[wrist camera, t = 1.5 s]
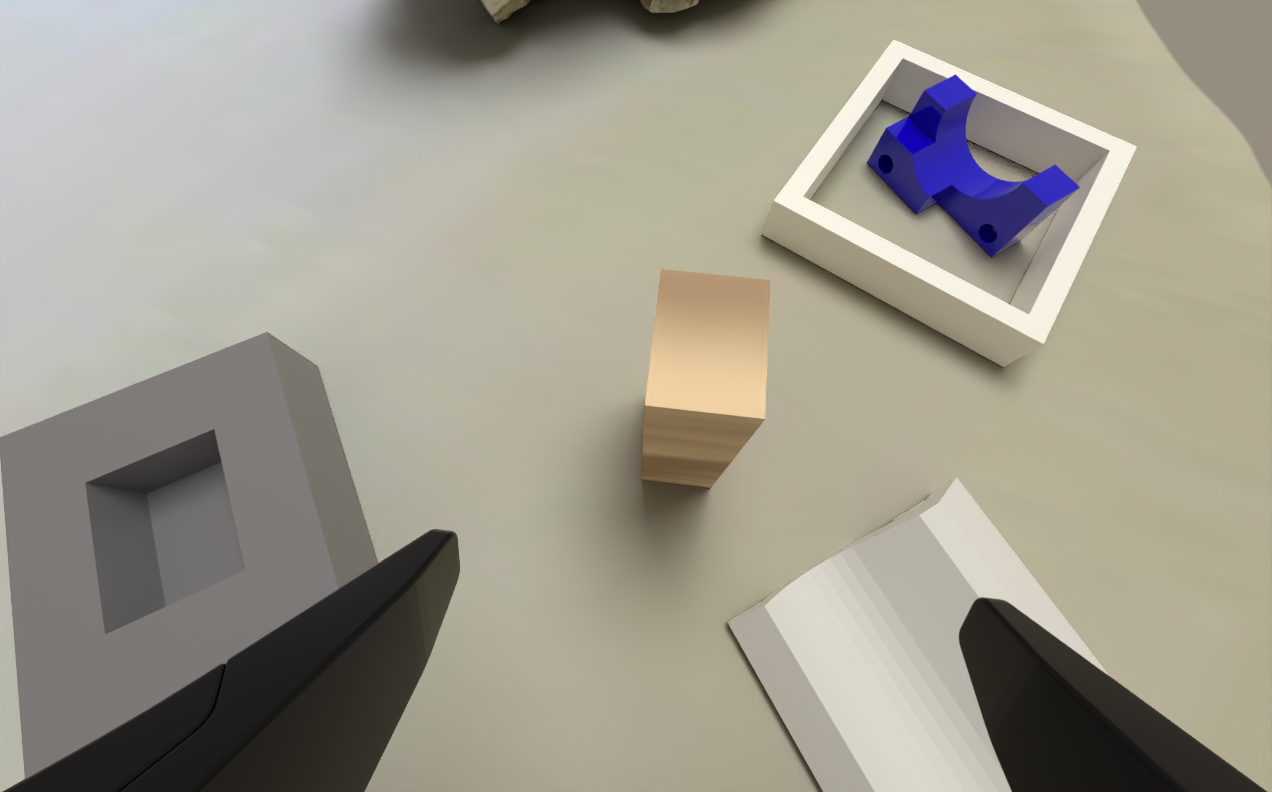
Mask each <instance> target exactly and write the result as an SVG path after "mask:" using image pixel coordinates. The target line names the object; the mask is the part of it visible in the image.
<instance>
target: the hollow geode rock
mask: <svg viewBox="0 0 1272 792" xmlns="http://www.w3.org/2000/svg"><path fill="white" fill-rule="evenodd" d="M478 1H479V2H480V4H481V5H482V7H483V8H484V10H485V11H486V12H487V14H488V15H489V16H490V17H491V19H492V20H493V21H494V22H496V23H498V24H499V23H500V22H501V21H502V20H503V19H507V18H508V17H509V16H510V15H511V14H512V13H513V12H514V11H516V10H518V9H520V8H522V7H525V6H526V5H527V4H528V3H529V2H530V1H531V0H478ZM698 1H699V0H640V2H641V4H642V5H643V7H644V8H646V9H647V10H649V11H650V12H652V13H673V12H677V11H680V10H683V9H687V8H689V7H692V6H694V5H696V4H698Z"/></svg>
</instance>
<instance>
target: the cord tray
mask: <svg viewBox="0 0 1272 792" xmlns="http://www.w3.org/2000/svg"><path fill="white" fill-rule="evenodd" d="M955 74H956V75H957V76H958V77H959V78H960V79H961V80H962V81H963V82H964V83H966V84H967V85H968V86H969V87H970V88H971V89H972V90H973V91H974V92H976V93H977V95H976V97H975V98H974V100H973V102H972V104H971V106H970V109H969V112H968V115H967V120H966V139H967V140H969V141H971V142H973V143H976V144H978V145H980V146H982V147H984V148H986V149H988V150H991V151H993V152H995V153H997V154H999V155H1001V156H1003V157H1006V158H1008V159H1010V160H1012V161H1014V162H1016V163H1018V164H1021V165H1023V166H1025V167H1027V168H1029V169H1031V170H1033V171H1036V172H1038V173H1041V172H1043V171H1045V170H1046V169H1048V168H1050V167H1052V166H1053V165H1056V166H1057V167H1058V168H1059V169H1061V170H1062V171H1063V172H1064V173H1065V174H1066V175H1067V176H1068V177H1069V178H1071V179H1072V180H1073V181H1074V182H1075V183H1076V184H1077V185H1078V186H1079V187H1080V188H1079V189H1078V190H1077V191H1076V192H1075V193H1074V194H1073V195H1071V196H1070V197H1069V198H1068V199H1067V200H1066V201H1065V202H1064V203H1062V204H1061V205H1060V207H1059V209H1058V211H1057V213H1056V215H1055V217H1054V219H1053V221H1052V223H1051V225H1050V227H1049V229H1048V231H1047V233H1046V235H1045V237H1044V238H1043V240H1042V242H1041V244H1040V246H1039V248H1038V250H1037V252H1036V254H1035V256H1034V258H1033V260H1032V262H1031V264H1030V266H1029V268H1028V270H1027V272H1026V274H1025V276H1024V278H1023V279H1022V281H1021V283H1020V285H1019V287H1018V289H1017V291H1016V293H1015V295H1014V297H1013V299H1012V301H1011V303H1010V305H1009V304H1008V303H1006V302H1004V301H1002V300H1000V299H998V298H996V297H994V296H992V295H990V294H988V293H987V292H985V291H983V290H981V289H979V288H977V287H975V286H973V285H971V284H969V283H967V282H966V281H964V280H962V279H960V278H958V277H956V276H954V275H952V274H950V273H948V272H946V271H944V270H943V269H941V268H939V267H937V266H935V265H933V264H931V263H929V262H927V261H925V260H923V259H922V258H920V257H918V256H916V255H914V254H912V253H910V252H908V251H906V250H904V249H902V248H901V247H899V246H897V245H895V244H893V243H891V242H889V241H887V240H885V239H883V238H881V237H880V236H878V235H876V234H874V233H872V232H870V231H868V230H866V229H864V228H862V227H860V226H859V225H857V224H855V223H853V222H851V221H849V220H847V219H845V218H843V217H841V216H839V215H838V214H836V213H834V212H832V211H830V210H828V209H826V208H824V207H822V206H820V205H818V204H817V203H815V202H813V201H811V200H810V199H811V198H812V196H813V195H814V194H815V192H816V191H817V189H818V188H819V187H820V185H821V184H822V182H823V181H824V180H825V178H826V177H827V175H828V174H829V173H830V171H831V170H832V168H833V167H834V166H835V164H836V163H837V161H838V160H839V159H840V157H841V156H842V154H843V153H844V152H845V150H846V149H847V147H848V146H849V145H850V143H851V142H852V140H853V139H854V138H855V136H856V135H857V133H858V132H859V131H860V129H861V128H862V127H863V125H864V124H865V122H866V121H867V120H868V118H869V117H870V115H871V114H872V113H873V111H874V110H875V108H876V107H877V106H878V104H879V103H880V101H881V100H883V101H886V102H888V103H890V104H892V105H894V106H896V107H898V108H901V109H903V110H905V111H907V112H909V113H911V112H912V110H913V109H914V107H915V105H916V104H917V102H918V100H919V98H920V97H921V95H922V93H923V92H924V90H926V89H928V88H930V87H932V86H934V85H936V84H938V83H940V82H942V81H944V80H946V79H948V78H950V77H952V76H954V75H955ZM1135 150H1136V146H1134V145H1132V144H1130V143H1127V142H1125V141H1123V140H1120V139H1118V138H1116V137H1114V136H1111V135H1109V134H1107V133H1105V132H1102V131H1100V130H1098V129H1096V128H1093V127H1091V126H1089V125H1086V124H1084V123H1082V122H1080V121H1077V120H1075V119H1073V118H1071V117H1068V116H1066V115H1064V114H1061V113H1059V112H1057V111H1055V110H1052V109H1050V108H1048V107H1046V106H1043V105H1041V104H1039V103H1036V102H1034V101H1032V100H1030V99H1027V98H1025V97H1023V96H1021V95H1018V94H1016V93H1014V92H1011V91H1009V90H1007V89H1005V88H1002V87H1000V86H998V85H996V84H993V83H991V82H989V81H986V80H984V79H982V78H980V77H977V76H975V75H973V74H971V73H968V72H966V71H964V70H961V69H959V68H957V67H955V66H952V65H950V64H948V63H946V62H943V61H941V60H939V59H937V58H934V57H932V56H930V55H927V54H925V53H923V52H921V51H918V50H916V49H914V48H912V47H909V46H907V45H905V44H902V43H900V42H898V41H896V40H893V41H892V43H891V44H890V45H889V47H888V48H887V49H886V51H885V52H884V53H883V55H882V56H881V57H880V59H879V60H878V61H877V63H876V64H875V65H874V67H873V68H872V69H871V71H870V72H869V73H868V75H867V76H866V78H865V79H864V80H863V82H862V83H861V84H860V86H859V87H858V88H857V90H856V91H855V92H854V94H853V95H852V96H851V98H850V99H849V100H848V102H847V103H846V104H845V106H844V107H843V108H842V110H841V111H840V112H839V114H838V115H837V116H836V118H835V119H834V121H833V122H832V123H831V125H830V126H829V127H828V129H827V130H826V131H825V133H824V134H823V135H822V137H821V138H820V139H819V141H818V142H817V143H816V145H815V146H814V147H813V149H812V150H811V151H810V153H809V154H808V155H807V157H806V158H805V160H804V161H803V162H802V164H801V165H800V166H799V168H798V169H797V170H796V172H795V173H794V174H793V176H792V177H791V178H790V180H789V181H788V182H787V184H786V185H785V186H784V188H783V189H782V190H781V192H780V193H779V194H778V196H777V197H776V198H775V200H774V202H773V204H772V207H771V210H770V213H769V215H768V218H767V221H766V224H765V227H764V229H763V232H762V235H764V236H765V237H767V238H769V239H771V240H773V241H775V242H776V243H778V244H780V245H782V246H784V247H786V248H787V249H789V250H791V251H793V252H795V253H796V254H798V255H800V256H802V257H804V258H806V259H807V260H809V261H811V262H813V263H815V264H816V265H818V266H820V267H822V268H824V269H826V270H827V271H829V272H831V273H833V274H835V275H836V276H838V277H840V278H842V279H844V280H846V281H847V282H849V283H851V284H853V285H855V286H857V287H858V288H860V289H862V290H864V291H866V292H867V293H869V294H871V295H873V296H875V297H877V298H878V299H880V300H882V301H884V302H886V303H887V304H889V305H891V306H893V307H895V308H897V309H898V310H900V311H902V312H904V313H906V314H907V315H909V316H911V317H913V318H915V319H917V320H918V321H920V322H922V323H924V324H926V325H927V326H929V327H931V328H933V329H935V330H937V331H938V332H940V333H942V334H944V335H946V336H948V337H949V338H951V339H953V340H955V341H957V342H958V343H960V344H962V345H964V346H966V347H968V348H969V349H971V350H973V351H975V352H977V353H978V354H980V355H982V356H984V357H986V358H988V359H989V360H991V361H993V362H995V363H997V364H998V365H1000V366H1002V367H1005V366H1007V365H1009V364H1010V363H1012V362H1014V361H1015V360H1017V359H1019V358H1021V357H1022V356H1024V355H1026V354H1027V353H1029V352H1031V351H1033V350H1034V349H1036V348H1038V347H1040V346H1041V345H1043V344H1044V342H1045V340H1046V338H1047V336H1048V334H1049V332H1050V329H1051V327H1052V325H1053V323H1054V321H1055V319H1056V317H1057V315H1058V312H1059V310H1060V308H1061V306H1062V304H1063V302H1064V300H1065V298H1066V296H1067V293H1068V291H1069V289H1070V287H1071V285H1072V283H1073V281H1074V279H1075V277H1076V274H1077V272H1078V270H1079V268H1080V266H1081V264H1082V262H1083V260H1084V257H1085V255H1086V253H1087V251H1088V249H1089V247H1090V245H1091V243H1092V241H1093V238H1094V236H1095V234H1096V232H1097V230H1098V228H1099V226H1100V224H1101V222H1102V219H1103V217H1104V215H1105V213H1106V211H1107V209H1108V207H1109V205H1110V202H1111V200H1112V198H1113V196H1114V194H1115V192H1116V190H1117V188H1118V186H1119V183H1120V181H1121V179H1122V177H1123V175H1124V173H1125V171H1126V169H1127V166H1128V164H1129V162H1130V160H1131V158H1132V156H1133V154H1134V152H1135Z"/></svg>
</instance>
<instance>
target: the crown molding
mask: <svg viewBox="0 0 1272 792" xmlns="http://www.w3.org/2000/svg"><path fill="white" fill-rule="evenodd" d="M980 597H986V598H994V599H1001V600H1005V601H1007V602H1009V603H1010V604H1012V605H1013V606H1014V607H1016V608H1017V609H1018V610H1020V611H1021V612H1022V613H1024V614H1025V615H1027V616H1028V617H1029V618H1031V619H1032V620H1033V621H1035V622H1036V623H1037V624H1039V625H1040V626H1042V627H1043V628H1044V629H1046V630H1047V631H1048V632H1050V633H1051V634H1052V635H1054V636H1055V637H1057V638H1058V639H1059V640H1061V641H1062V642H1063V643H1065V644H1066V645H1068V646H1069V647H1070V648H1072V649H1073V650H1074V651H1076V652H1077V653H1078V654H1080V655H1081V656H1083V657H1084V658H1085V659H1087V660H1088V661H1089V662H1091V663H1092V664H1093V665H1095V666H1096V667H1098V668H1099V669H1100V670H1102V671H1103V672H1104V673H1106V674H1107V672H1106V671H1105V670H1104V669H1103V667H1102V666H1101V665H1100V663H1099V662H1098V661H1097V659H1096V658H1095V657H1094V656H1093V654H1092V653H1091V652H1090V650H1089V649H1088V648H1087V646H1086V645H1085V644H1084V642H1083V641H1082V640H1081V639H1080V637H1079V636H1078V635H1077V633H1076V632H1075V631H1074V629H1073V628H1072V627H1071V626H1070V624H1069V623H1068V622H1067V620H1066V619H1065V618H1064V616H1063V615H1062V614H1061V613H1060V611H1059V610H1058V609H1057V607H1056V606H1055V605H1054V603H1053V602H1052V601H1051V600H1050V598H1049V597H1048V596H1047V594H1046V593H1045V592H1044V590H1043V589H1042V588H1041V587H1040V585H1039V584H1038V583H1037V581H1036V580H1035V579H1034V577H1033V576H1032V575H1031V573H1030V572H1029V571H1028V570H1027V568H1026V567H1025V566H1024V564H1023V563H1022V562H1021V560H1020V559H1019V558H1018V557H1017V555H1016V554H1015V553H1014V551H1013V550H1012V549H1011V547H1010V546H1009V545H1008V544H1007V542H1006V541H1005V540H1004V538H1003V537H1002V536H1001V534H1000V533H999V532H998V531H997V529H996V528H995V527H994V525H993V524H992V523H991V521H990V520H989V519H988V518H987V516H986V515H985V514H984V512H983V511H982V510H981V508H980V507H979V506H978V505H977V503H976V502H975V501H974V499H973V498H972V497H971V495H970V494H969V493H968V491H967V490H966V489H965V488H964V486H963V485H962V484H961V482H960V481H959V480H958V478H957V477H956V478H954V479H953V480H951V481H950V482H948V483H946V484H945V485H943V486H942V487H940V488H938V489H937V490H935V491H934V492H932V493H931V494H930V496H929V497H928V498H926V499H924V500H923V501H922V502H920V503H918V504H917V505H915V506H914V507H912V508H911V509H909V510H908V511H906V512H904V513H903V514H901V515H899V516H898V517H897V518H895V519H894V520H893V522H891V523H889V524H888V525H886V526H884V527H882V528H880V529H877V530H875V531H873V532H871V533H869V534H867V535H865V536H864V537H862V538H860V539H858V540H856V541H854V542H852V543H850V544H849V545H847V546H846V547H844V548H842V549H841V550H839V551H838V552H836V553H834V554H833V555H831V556H830V557H828V558H826V559H825V560H823V561H822V562H820V563H818V564H817V565H815V566H814V567H812V568H810V569H809V570H807V571H806V572H804V573H802V574H801V575H799V576H798V577H796V578H794V579H793V580H791V581H790V582H788V583H786V584H785V585H783V586H782V587H780V588H778V589H777V590H775V591H774V592H773V593H771V594H770V595H769V596H768V597H767V598H766V599H765V600H763V601H762V602H759V603H757V604H755V605H754V606H753V607H751V608H749V609H747V610H746V611H744V612H742V613H741V614H739V615H738V616H736V617H734V618H732V619H731V620H729V621H728V624H729V626H730V628H731V629H732V631H733V633H734V635H735V637H736V638H737V640H738V642H739V644H740V645H741V647H742V649H743V651H744V652H745V654H746V656H747V658H748V660H749V661H750V663H751V665H752V667H753V668H754V670H755V672H756V674H757V675H758V677H759V679H760V681H761V683H762V684H763V686H764V688H765V690H766V691H767V693H768V695H769V697H770V698H771V700H772V702H773V704H774V706H775V707H776V709H777V711H778V713H779V714H780V716H781V718H782V720H783V721H784V723H785V725H786V727H787V729H788V730H789V732H790V734H791V736H792V737H793V739H794V741H795V743H796V745H797V746H798V748H799V750H800V752H801V753H802V755H803V757H804V759H805V760H806V762H807V764H808V766H809V768H810V769H811V771H812V773H813V775H814V776H815V778H816V780H817V782H818V783H819V785H820V787H821V789H822V791H823V792H1012V791H1011V789H1010V787H1009V784H1008V782H1007V780H1006V777H1005V775H1004V773H1003V770H1002V768H1001V765H1000V763H999V761H998V758H997V756H996V753H995V751H994V748H993V746H992V743H991V741H990V738H989V735H988V732H987V729H986V727H985V724H984V721H983V718H982V714H981V711H980V708H979V705H978V702H977V699H976V695H975V692H974V689H973V686H972V683H971V680H970V676H969V673H968V670H967V667H966V664H965V661H964V658H963V654H962V651H961V648H960V644H959V631H960V628H961V626H962V624H963V622H964V620H965V618H966V616H967V614H968V612H969V610H970V608H971V606H972V604H973V602H974V601H975V600H976V599H977V598H980ZM1107 675H1108V674H1107Z"/></svg>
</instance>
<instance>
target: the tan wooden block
mask: <svg viewBox="0 0 1272 792" xmlns="http://www.w3.org/2000/svg"><path fill="white" fill-rule="evenodd" d="M769 298H770V280H763V279H753V278H743V277H733V276H723V275H713V274H704V273H694V272H684V271H674V270H664V269H661V274H660V283H659V291H658V299H657V308H656V316H655V324H654V333H653V341H652V349H651V358H650V366H649V374H648V383H647V391H646V399H645V411H644V433H643V454H642V476H641V480H648V481H656V482H665V483H673V484H682V485H690V486H698V487H707V488H711V487H712V486H713V484H714V483H715V482H716V480H717V479H718V478H719V477H720V475H721V474H722V473H723V472H724V470H725V469H726V468H727V467H728V465H729V464H730V463H731V462H732V460H733V459H734V458H735V456H736V455H737V454H738V453H739V451H740V450H741V449H742V448H743V446H744V445H745V444H746V443H747V441H748V440H749V439H750V437H751V436H752V435H753V434H754V432H755V431H756V430H757V429H758V427H759V426H760V425H761V424H762V422H763V421H764V420H765V408H766V381H767V353H768V326H769Z"/></svg>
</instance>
